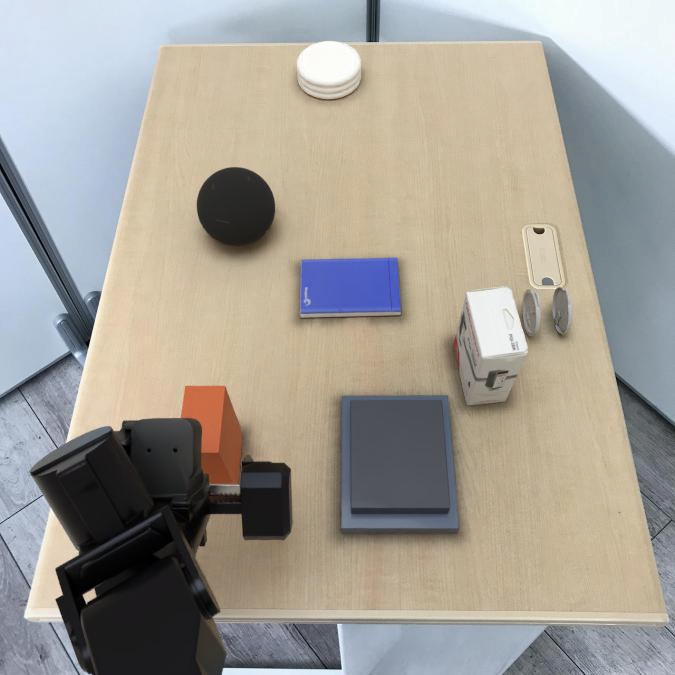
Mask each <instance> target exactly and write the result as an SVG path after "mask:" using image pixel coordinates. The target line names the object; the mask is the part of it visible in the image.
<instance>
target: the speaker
mask: <svg viewBox="0 0 675 675" xmlns="http://www.w3.org/2000/svg"><path fill="white" fill-rule="evenodd" d="M196 197H197V198H196V213H197V214H196V215H197V217H198V220H199V222H200V225H201V227H202V228H203V230H204V231H205V233H207V235H209V236H210V237H211V238H212V239H214V240H215V241H216V242H219V243H220V244H222V245H225V246H230V247H245V246H248V245H251V244H254V243H255V242H258V241H259V240H260V239H262V238H263V237H264V236H265V235H266V234H267V233H268V231H269V230H270V228H271V226H272V224H273V222H274V219H275V215H276V201H275V196H274V193H273V191H272V188H271V186H270V185H269V184H268V182H267V181H266V180H265V179H264V178H263V177H262V176H261V175H260V174H258V173H256V172H255V171H253V170H251V169H249V168H245V167H240V166H230V167H225V168H222V169H219V170H217V171H215V172H214V173H212V174H211V175H209V177H207V178H206V179H205V181H204V182H203V183H202V185H201V187H200V189H199V191H198V194H197V196H196Z"/></svg>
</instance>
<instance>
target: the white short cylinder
mask: <svg viewBox="0 0 675 675" xmlns="http://www.w3.org/2000/svg"><path fill="white" fill-rule="evenodd" d="M295 67H296V75H297V76H296V77H297V82H298V85H299V87H300V88H301V90H302V91H303V92H304V93H306V94H308V95H309V96H311V97H314V98H317V99H322V100H334V99H335V100H336V99H340V98H344V97H347V96H349V95H350V94H352V93H353V92H354V91H355V90H356V89H357V88H358V87H359V85H360V83H361V81H362V59H361V56H360V54H359V52H358V51H357V50H356V49H355V48H354V47H352V46H350V45H349V44H347V43H344V42H341V41H337V40H325V41H324V40H323V41H319V42H315V43H312V44H311V45H309V46H307V47H306V48H304V49H303V50H302V51H301V52H300V53H299V55H298V56H297V59H296V66H295Z"/></svg>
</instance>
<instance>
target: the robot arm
mask: <svg viewBox="0 0 675 675" xmlns="http://www.w3.org/2000/svg"><path fill="white" fill-rule="evenodd" d="M201 449H202V426H201V424H200V422H199V421H198V420H196V419H194V418H181V417H151V418H142V419H134V420H133V419H132V420H131V419H128V420H127V419H126V420H122V422H121V428H120V430H114V428H113V427H112V426H111V425H105V426H100V427H98V428H95V429H92V430H90V431H87V432H85V433H82V434H81V435H78V436H77V437H74V438H72V439H71V440H68V441H67V442H65V443H63V444H62V445H60V446H58V447H57V448H55V449H54V450H52V451H50V452H49V453H47V454H46V455H45V456H43V457H42V458H41V459H40V460H38V461H37V462H36V463H35V464H34V465H33V466H31V468H30V469H29V474H30V476H31V478H32V479H33V481H34V482H35V484H36V485H37V488H38V489H39V491H40V493H41V494H42V496H43V498H44V499H45V501H46V502H47V504H48V505H49V508H50V509H51V510H52V512H53V514H54V516H55V517H56V520H58V522H59V524H60V525H61V527H62V529H63V531H64V532H65V534H66V536H67V538H68V539H69V540H70V542H71V544H72V545H73V547H74V548H75V550H76V551H78V555H75V556H73V557H72V558H71V559H69V560H67V561H65V562H63V563H62V564H60V565H58V566H57V567H55V568H54V570H55V574H56V577H57V581H58V584H59V588H60V590H61V593H62V595H60V596H58V597H56V598H55V599H54V600H55V603H56V605H57V608H58V612H59V614H60V617H61V620H62V622H63V624H64V627H65V630H66V632H67V635H68V639H69V641H70V644H71V647H72V649H73V652H74V655H75V657H76V661H77V663H78V664H79V667H80V669H81V670H82V672H84V673H86V674H88V675H223V671H224V667H225V663H226V659H227V650H226V646H225V645H224V642H223V640H222V637H221V634H220V632H219V629H218V626H217V624H216V621H215V619H214V617H215V616H217V615H218V614H220V613H221V612H222V611H221V608H220V605H219V603H218V600H217V598H216V596H215V594H214V592H213V590H212V588H211V586H210V583H209V582H208V580H207V578H206V575H205V574H204V572H203V570H202V567H201V566H200V563H199V562H198V560H197V557H196V556H197V553H198V551H199V547H201V548H202V547H206V545H207V542H208V532H207V527H208V524H209V521H210V519H211V516H212V515H240V516H241V532H242V533H241V534H242V535H241V536H242V538H243V540H244V541H285V540H286V539H287V538H288V537H289V536H290V535H291V533H292V530H293V523H294V522H293V493H292V492H293V491H292V490H293V489H292V468H291V467H290V466H289V465H288V464H287V463H286V462H273V461H268V460H258V461H257V460H254V459H253V457H252V455H251V454H245V455H244V457H243V460H242V461H241V470H240V479H239V482H240V483H238V484H209V474H203V469H202V468H201ZM92 590H94V594H95V597H93V598H92V599H90V600H88V601H87V602H86V599H85V597H84V595H86V594H87V593H89V592H90V591H92Z"/></svg>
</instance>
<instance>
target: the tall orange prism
mask: <svg viewBox="0 0 675 675" xmlns="http://www.w3.org/2000/svg"><path fill="white" fill-rule="evenodd" d="M234 408H235V407H234V405H233V403H232V400H231V398H230V394H229V391H228V389H227V386H226V385H185V386H184V392H183V399H182V407H181V414H180V418H194V419H196V420H198V421H199V422H200V424H201V426H202V449H201V468H202V469H203V474H209V484H240V483H239V482H240V472H241V470H240V469H241V458H242V457H241V456H242V445H243V435H244V434H243V431H242V428H241V424H240V422H239V419H238V417H237V413H236V411H235V409H234Z"/></svg>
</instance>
